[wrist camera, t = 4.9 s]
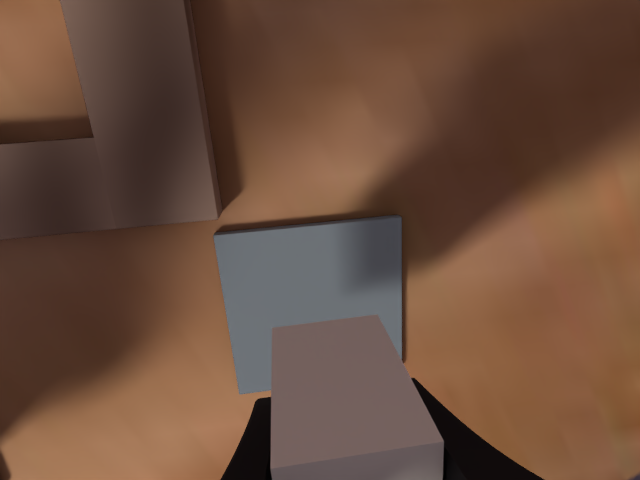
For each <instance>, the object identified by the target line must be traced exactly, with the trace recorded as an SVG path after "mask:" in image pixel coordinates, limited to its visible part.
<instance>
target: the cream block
mask: <svg viewBox="0 0 640 480" xmlns="http://www.w3.org/2000/svg"><path fill="white" fill-rule="evenodd" d="M443 455H444V441H443V439H442V437H441V435H440V433H439V431H438V429H437V427H436V425H435V423H434V421H433V419H432V418H431V416H430V414H429V412H428V410H427V408H426V406H425V404H424V402H423V400H422V398H421V397H420V395H419V393H418V391H417V389H416V387H415V385H414V383H413V381H412V379H411V377H410V376H409V374H408V372H407V370H406V368H405V366H404V364H403V362H402V360H401V358H400V356H399V354H398V353H397V351H396V349H395V347H394V345H393V343H392V341H391V339H390V337H389V335H388V333H387V332H386V330H385V328H384V326H383V324H382V322H381V320H380V318H379V316H378V314H376V315H368V316H360V317H352V318H344V319H337V320H329V321H321V322H313V323H305V324H297V325H290V326H282V327H274V328H272V373H271V463H270V469H271V476H272V480H443Z"/></svg>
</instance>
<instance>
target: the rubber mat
mask: <svg viewBox="0 0 640 480" xmlns="http://www.w3.org/2000/svg"><path fill="white" fill-rule="evenodd" d="M213 236H214V242H215V248H216V255H217V261H218V267H219V273H220V279H221V285H222V291H223V297H224V303H225V309H226V315H227V322H228V328H229V334H230V340H231V346H232V352H233V358H234V364H235V370H236V376H237V382H238V389H239V394H246V393H254V392H261V391H269V390H271V373H272V328H274V327H282V326H290V325H297V324H305V323H313V322H321V321H329V320H337V319H344V318H352V317H360V316H368V315H376V314H378V316H379V318H380V320H381V322H382V324H383V326H384V328H385V330H386V332H387V333H388V335H389V337H390V339H391V341H392V343H393V345H394V347H395V349H396V351H397V353H398V354H399V356H400V358H401V360H402V217H401V216H399V215H391V216H381V217H371V218H360V219H350V220H340V221H330V222H319V223H309V224H299V225H288V226H278V227H268V228H257V229H247V230H237V231H226V232H216V233H215V234H214V235H213Z"/></svg>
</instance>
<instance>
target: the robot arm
mask: <svg viewBox="0 0 640 480" xmlns="http://www.w3.org/2000/svg"><path fill="white" fill-rule="evenodd" d="M411 379H412V381H413V383H414V385H415V387H416V389H417V391H418V393H419V395H420V397H421V398H422V400H423V402H424V404H425V406H426V408H427V410H428V412H429V414H430V416H431V418H432V419H433V421H434V423H435V425H436V427H437V429H438V431H439V433H440V435H441V437H442V439H443V441H444V455H443V480H544V479H542V478H541V477H539V476H537V475H535V474H534V473H532V472H530V471H529V470H527V469H525V468H524V467H522V466H521V465H519V464H517V463H516V462H514V461H513V460H511V459H510V458H509V457H507V456H506V455H504V454H503V453H501V452H500V451H498V450H497V449H495V448H494V447H493V446H491V445H490V444H489V443H487V442H486V441H485V440H483V439H482V438H481V437H480V436H478V435H477V434H476V433H474V432H473V431H472V430H471V429H470V428H468V427H467V426H466V425H465V424H464V423H462V422H461V421H460V420H459V419H458V418H457V417H455V416H454V415H453V414H452V413H451V412H450V411H449V410H448V409H446V408H445V407H444V406H443V405H442V404H441V403H440V402H439V401H438V400H437V399H436V398H435V397H434V396H433V395H431V394H430V393H429V392H428V391H427V390H426V389H425V388H424V387H423V386H422V385H421V384H420V383H419V382H418V381H417V380H416V379H415V378H411ZM270 463H271V397H267V398H260V399H257V401H256V402H255V404H254V408H253V411H252V414H251V417H250V419H249V422H248V424H247V427H246V429H245V432H244V434H243V436H242V438H241V441H240V443H239V445H238V447H237V449H236V451H235V453H234V455H233V457H232V459H231V461H230V463H229V465H228V467H227V469H226V471H225V473H224V474H223V476H222V478H221V480H272V476H271V469H270Z"/></svg>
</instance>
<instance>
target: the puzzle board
mask: <svg viewBox="0 0 640 480" xmlns="http://www.w3.org/2000/svg"><path fill="white" fill-rule="evenodd" d="M60 3H61V7H62V11H63V15H64V19H65V23H66V27H67V31H68V35H69V39H70V43H71V47H72V51H73V55H74V59H75V63H76V68H77V72H78V76H79V80H80V84H81V88H82V92H83V96H84V100H85V104H86V108H87V112H88V116H89V120H90V124H91V128H92V132H93V136H94V137H88V138H75V139H61V140H47V141H34V142H20V143H7V144H0V240H4V239H15V238H25V237H36V236H47V235H57V234H68V233H78V232H89V231H100V230H110V229H121V228H132V227H142V226H153V225H163V224H174V223H185V222H195V221H206V220H217V219H218V218H219V217H220V215H221V213H222V205H221V198H220V192H219V185H218V179H217V172H216V166H215V159H214V153H213V146H212V140H211V133H210V126H209V120H208V113H207V107H206V100H205V94H204V87H203V81H202V74H201V68H200V61H199V55H198V48H197V42H196V35H195V28H194V22H193V15H192V9H191V2H190V0H60Z"/></svg>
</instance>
